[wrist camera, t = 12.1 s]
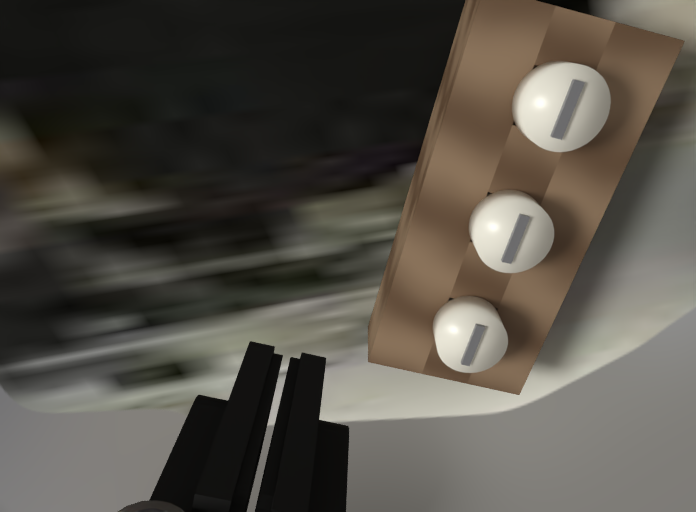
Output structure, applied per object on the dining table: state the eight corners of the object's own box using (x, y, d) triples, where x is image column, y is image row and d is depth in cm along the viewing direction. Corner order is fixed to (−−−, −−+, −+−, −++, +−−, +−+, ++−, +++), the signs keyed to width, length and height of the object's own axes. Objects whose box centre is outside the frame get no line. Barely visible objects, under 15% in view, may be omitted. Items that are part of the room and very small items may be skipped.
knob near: (511, 48, 34) (543, 54, 28) (581, 66, 35) (628, 76, 28) (486, 121, 36) (511, 142, 30) (553, 138, 36) (590, 162, 30)
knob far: (437, 265, 41) (450, 308, 35) (496, 279, 41) (519, 324, 35) (419, 317, 43) (428, 367, 36) (476, 330, 43) (494, 381, 37)
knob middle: (471, 166, 37) (491, 194, 31) (535, 181, 38) (568, 213, 32) (450, 227, 39) (465, 265, 33) (511, 242, 40) (538, 282, 34)
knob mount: (468, -10, 34) (484, -14, 29) (642, 38, 35) (684, 40, 30) (368, 326, 44) (368, 361, 40) (503, 357, 45) (519, 395, 41)
